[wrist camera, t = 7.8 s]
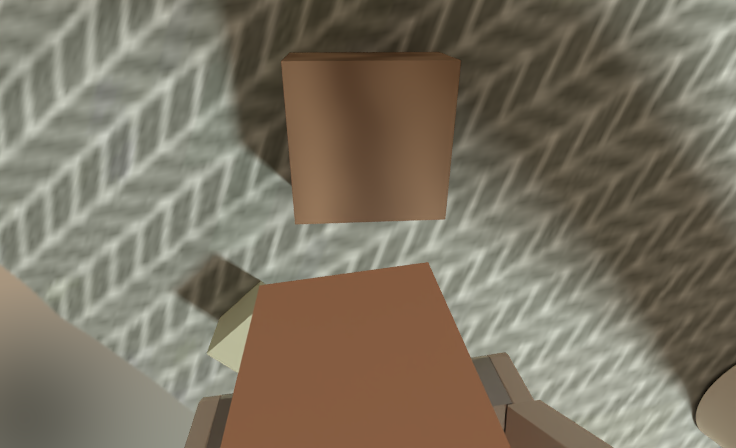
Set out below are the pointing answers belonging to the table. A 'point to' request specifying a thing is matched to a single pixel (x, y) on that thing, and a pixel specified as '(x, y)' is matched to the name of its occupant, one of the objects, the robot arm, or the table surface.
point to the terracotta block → (358, 368)
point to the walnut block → (370, 134)
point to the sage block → (233, 331)
